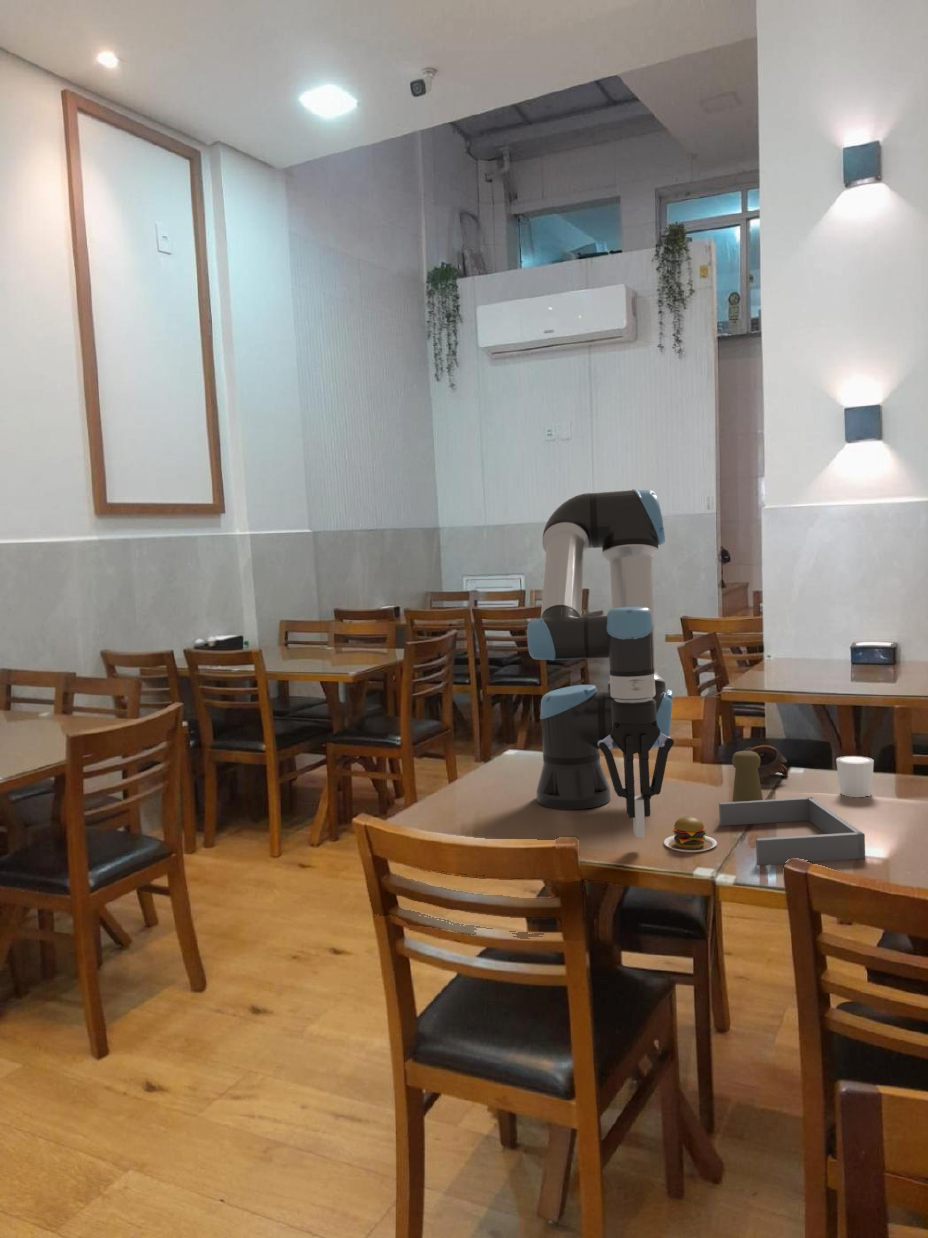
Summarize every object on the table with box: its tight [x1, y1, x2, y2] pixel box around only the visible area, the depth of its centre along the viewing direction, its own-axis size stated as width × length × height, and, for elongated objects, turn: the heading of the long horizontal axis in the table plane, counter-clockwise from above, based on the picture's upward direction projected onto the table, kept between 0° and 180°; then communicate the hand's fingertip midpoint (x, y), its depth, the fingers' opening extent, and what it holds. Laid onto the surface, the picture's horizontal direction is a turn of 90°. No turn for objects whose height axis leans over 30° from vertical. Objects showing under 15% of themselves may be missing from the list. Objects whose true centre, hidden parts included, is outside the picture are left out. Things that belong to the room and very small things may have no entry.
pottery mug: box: [743, 744, 789, 779], centre depth 199 cm, size 12×10×8 cm
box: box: [718, 796, 866, 866], centre depth 158 cm, size 22×17×4 cm
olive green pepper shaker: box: [731, 750, 764, 802], centre depth 178 cm, size 6×6×11 cm
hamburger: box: [663, 816, 718, 853], centre depth 159 cm, size 12×12×6 cm
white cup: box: [835, 755, 875, 798], centre depth 183 cm, size 7×7×7 cm
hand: (639, 835), depth 158 cm, fingers closed
